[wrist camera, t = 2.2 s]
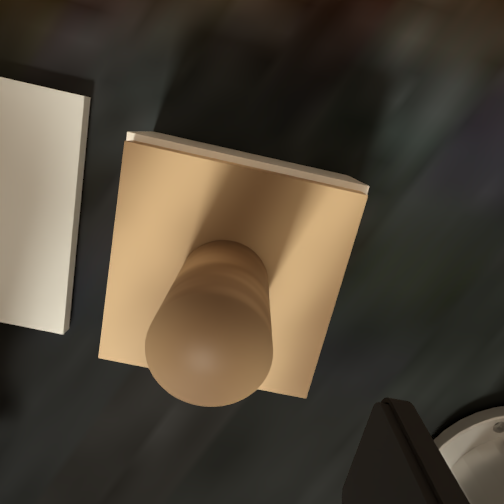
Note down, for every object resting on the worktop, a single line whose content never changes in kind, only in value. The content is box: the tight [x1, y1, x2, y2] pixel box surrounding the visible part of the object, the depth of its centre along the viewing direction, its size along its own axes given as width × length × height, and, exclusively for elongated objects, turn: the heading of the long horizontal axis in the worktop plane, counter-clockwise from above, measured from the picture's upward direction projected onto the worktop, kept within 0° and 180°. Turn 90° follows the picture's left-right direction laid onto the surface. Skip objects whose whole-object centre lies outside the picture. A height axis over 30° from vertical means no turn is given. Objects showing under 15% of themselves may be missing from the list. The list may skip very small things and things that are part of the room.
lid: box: [98, 140, 368, 407], centre depth 16 cm, size 10×10×7 cm
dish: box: [126, 131, 369, 195], centre depth 21 cm, size 11×11×4 cm
